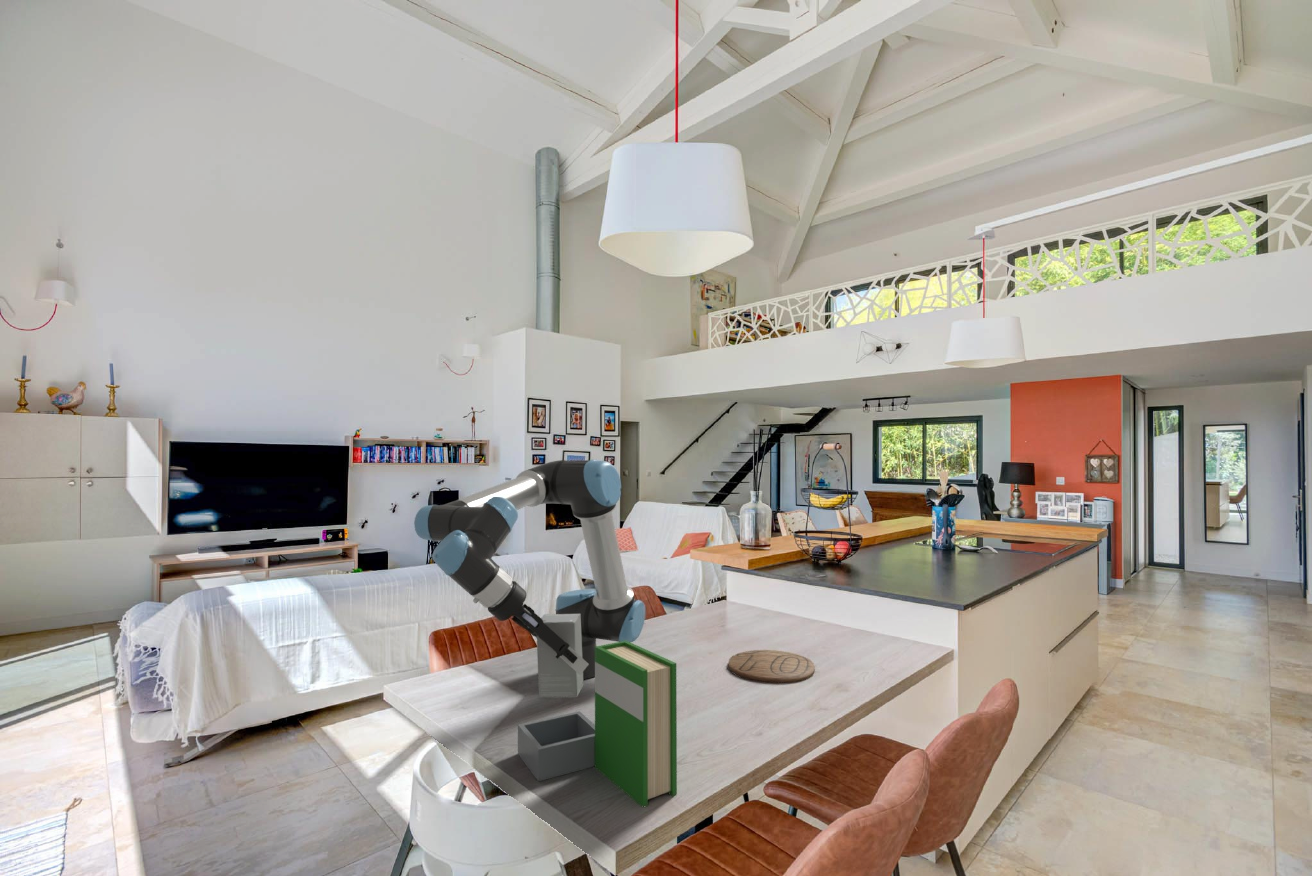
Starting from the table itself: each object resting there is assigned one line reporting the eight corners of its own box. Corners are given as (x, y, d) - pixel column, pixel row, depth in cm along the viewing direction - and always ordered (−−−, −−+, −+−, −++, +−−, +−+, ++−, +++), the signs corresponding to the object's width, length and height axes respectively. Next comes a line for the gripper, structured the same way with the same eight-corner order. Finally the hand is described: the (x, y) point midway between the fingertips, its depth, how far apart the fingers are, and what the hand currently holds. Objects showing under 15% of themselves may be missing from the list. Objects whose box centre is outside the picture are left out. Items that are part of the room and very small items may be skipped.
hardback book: (676, 794, 116) (676, 663, 116) (643, 807, 111) (643, 671, 112) (626, 757, 130) (626, 640, 131) (594, 767, 126) (594, 646, 127)
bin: (517, 753, 132) (517, 724, 132) (579, 738, 139) (579, 711, 139) (538, 781, 120) (538, 749, 120) (604, 763, 127) (604, 733, 127)
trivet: (721, 679, 176) (720, 672, 176) (736, 653, 200) (736, 647, 200) (812, 688, 169) (812, 681, 169) (816, 660, 193) (816, 654, 193)
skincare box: (583, 687, 133) (584, 612, 133) (576, 700, 126) (576, 621, 126) (544, 686, 134) (545, 611, 134) (535, 699, 127) (535, 620, 127)
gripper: (473, 598, 132) (544, 662, 140) (502, 622, 113) (583, 694, 121) (498, 571, 135) (566, 634, 142) (530, 589, 116) (608, 662, 123)
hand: (574, 662), depth 131 cm, fingers closed on skincare box, 9 cm apart
